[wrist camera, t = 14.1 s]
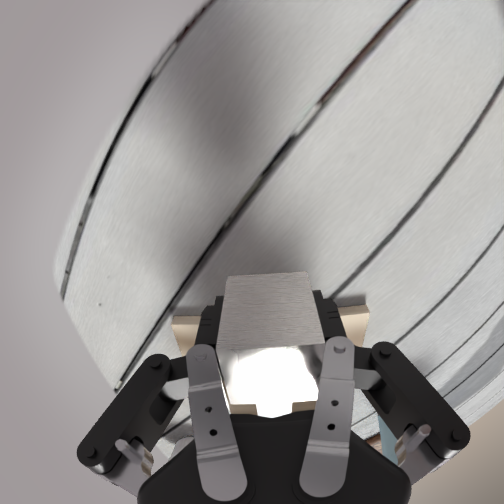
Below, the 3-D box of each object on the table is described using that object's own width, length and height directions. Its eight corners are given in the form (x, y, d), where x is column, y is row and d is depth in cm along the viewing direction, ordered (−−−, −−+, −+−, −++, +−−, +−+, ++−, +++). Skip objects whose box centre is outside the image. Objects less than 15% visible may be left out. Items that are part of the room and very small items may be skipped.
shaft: (227, 276, 14) (215, 349, 10) (306, 271, 14) (325, 342, 10) (259, 457, 26) (259, 493, 22) (293, 456, 26) (295, 492, 22)
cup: (412, 413, 36) (428, 461, 27) (371, 427, 37) (382, 478, 28) (418, 392, 33) (438, 447, 24) (371, 409, 34) (386, 467, 25)
